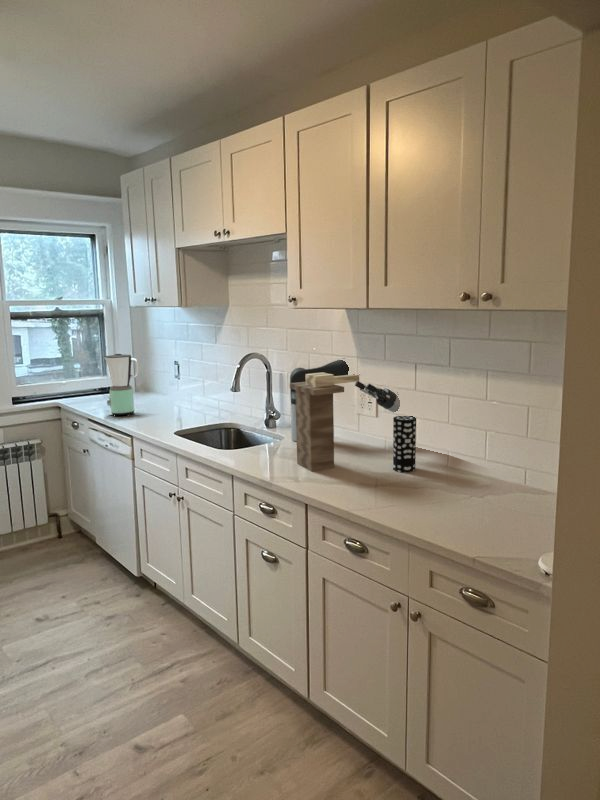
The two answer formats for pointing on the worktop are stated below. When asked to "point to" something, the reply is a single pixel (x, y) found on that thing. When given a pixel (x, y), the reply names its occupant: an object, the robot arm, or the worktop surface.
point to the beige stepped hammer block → (328, 379)
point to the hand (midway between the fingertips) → (361, 384)
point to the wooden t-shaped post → (315, 425)
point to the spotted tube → (404, 443)
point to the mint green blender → (121, 383)
